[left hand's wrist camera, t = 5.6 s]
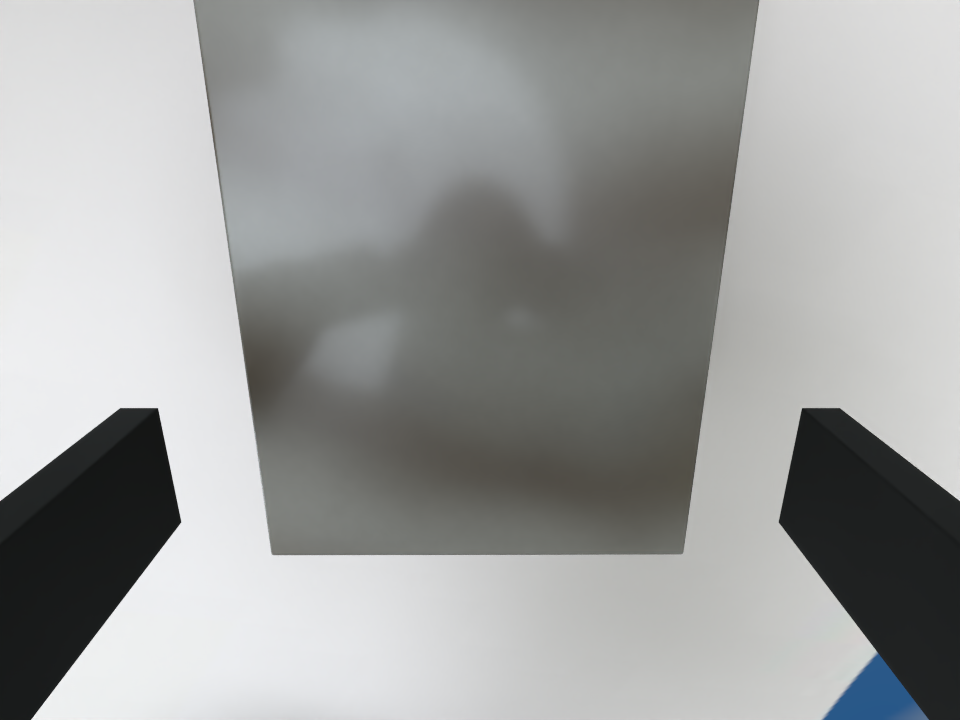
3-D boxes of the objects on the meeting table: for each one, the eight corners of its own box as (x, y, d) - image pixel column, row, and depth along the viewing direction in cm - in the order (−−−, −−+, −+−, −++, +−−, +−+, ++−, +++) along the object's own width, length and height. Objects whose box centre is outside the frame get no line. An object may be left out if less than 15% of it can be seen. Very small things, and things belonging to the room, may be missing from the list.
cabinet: (309, -154, 21) (124, -474, 10) (644, -154, 21) (827, -472, 10) (352, 391, 28) (270, 556, 17) (603, 391, 28) (684, 555, 17)
